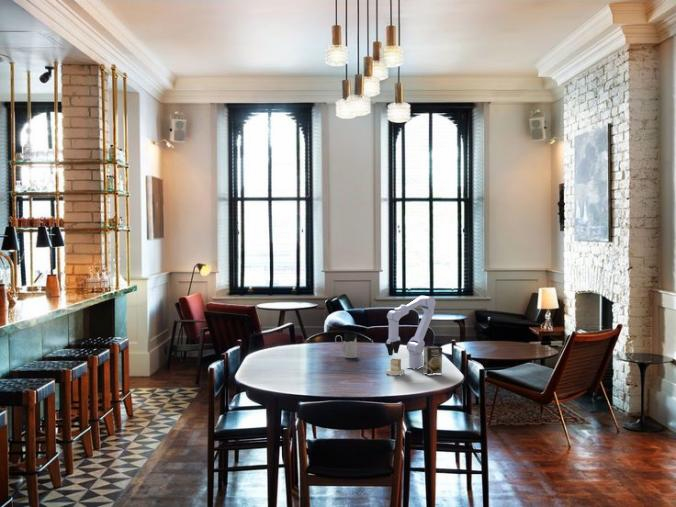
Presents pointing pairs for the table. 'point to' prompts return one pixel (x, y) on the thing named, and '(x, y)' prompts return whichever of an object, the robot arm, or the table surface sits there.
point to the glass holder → (349, 345)
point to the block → (396, 364)
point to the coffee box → (432, 359)
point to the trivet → (394, 372)
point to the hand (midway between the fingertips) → (393, 354)
